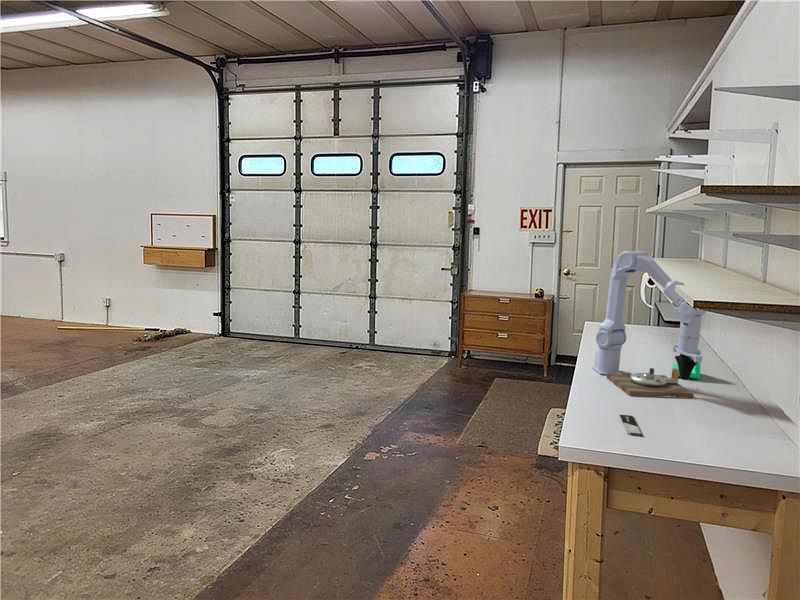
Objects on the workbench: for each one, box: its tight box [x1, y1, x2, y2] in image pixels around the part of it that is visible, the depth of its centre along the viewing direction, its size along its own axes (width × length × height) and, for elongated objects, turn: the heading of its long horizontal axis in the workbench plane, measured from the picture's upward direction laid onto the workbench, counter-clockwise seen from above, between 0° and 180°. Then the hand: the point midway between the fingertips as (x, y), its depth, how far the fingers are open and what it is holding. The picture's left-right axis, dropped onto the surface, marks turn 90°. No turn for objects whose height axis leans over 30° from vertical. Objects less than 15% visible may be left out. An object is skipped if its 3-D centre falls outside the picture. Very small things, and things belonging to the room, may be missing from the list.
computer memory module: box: [619, 414, 645, 438], centre depth 157 cm, size 15×1×4 cm
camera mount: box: [672, 348, 702, 379], centre depth 210 cm, size 12×8×10 cm, turn 160°
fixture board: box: [605, 373, 694, 399], centre depth 194 cm, size 20×20×2 cm
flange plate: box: [630, 368, 680, 386], centre depth 193 cm, size 15×11×5 cm
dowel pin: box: [648, 367, 655, 375], centre depth 199 cm, size 1×1×3 cm
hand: (684, 379), depth 187 cm, fingers closed
